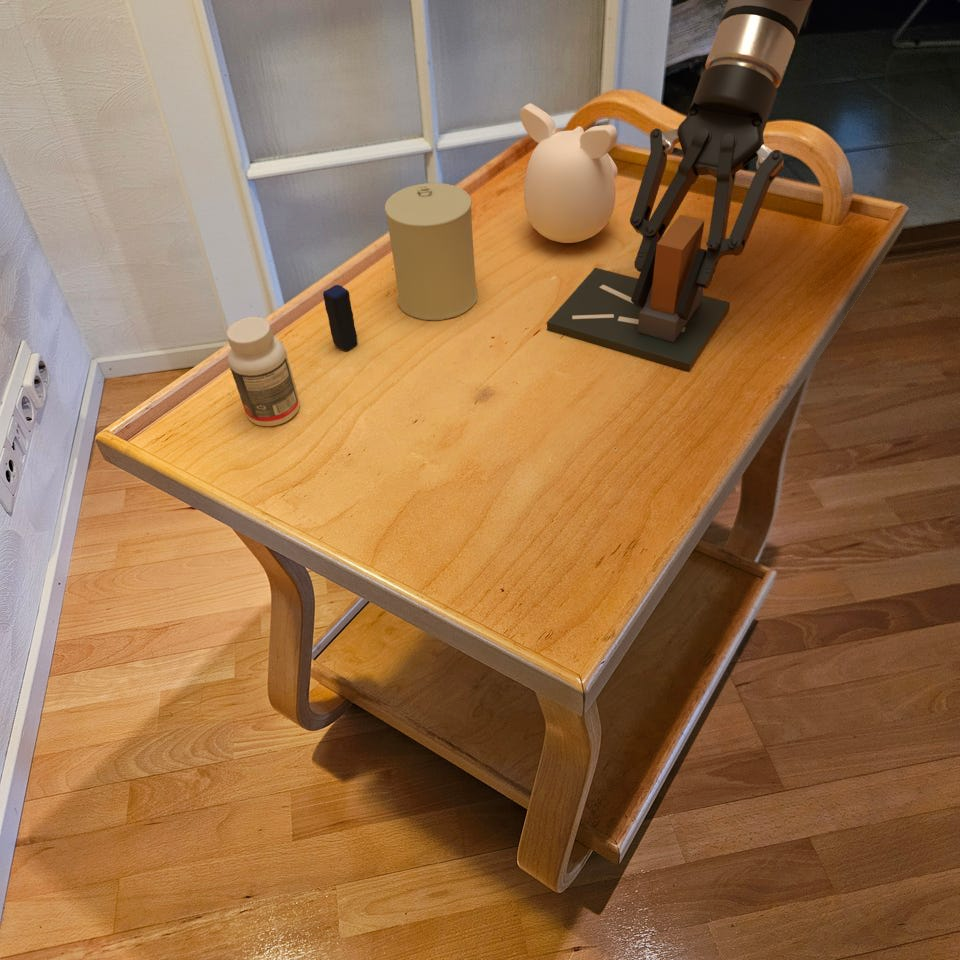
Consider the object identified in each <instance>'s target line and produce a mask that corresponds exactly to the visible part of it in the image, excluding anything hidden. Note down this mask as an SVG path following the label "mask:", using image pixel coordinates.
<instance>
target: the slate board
mask: <svg viewBox="0 0 960 960" xmlns="http://www.w3.org/2000/svg"><path fill="white" fill-rule="evenodd" d="M638 278H639V277H633V276H630V275H625V274H622V273H618V272H614V271H610V270H606V269H602V268H598V267H594V268H593V269H592V271H591V272H590V273H589V274H588V275H587V276H586V277H585V279H583V281H582V282H581V283H580V284H579V285H578V287H577V288H576V289H574V291H573V292H572V293H571V294H570V296H569V297H567V298H566V300H565V301H564V302H563V303H562V304H561V306H560V307H558V309H557V310H556V311H555V313H554V314H553V315H551V316H550V318H549V319H548V321H547V322H546V331H551V332H554V333H557V334H560V335H564V336H567V337H571V338H575V339H578V340H581V341H584V342H588V343H591V344H595V345H598V346H601V347H605V348H608V349H611V350H615V351H618V352H621V353H625V354H628V355H632V356H635V357H638V358H641V359H645V360H649V361H650V362H651V361H652V362H654V363H659V364H662V365H665V366H668V367H672V368H675V369H679V370H682V371H686V372H690V371H691V369H692V367H693V366H694V364H695V363H696V362H697V360H698V359H699V356H700V355H701V354H702V352H703V350H704V349H705V347H707V344H709V341H710V340H711V338H712V336H713V335H714V334H715V332H716V331H717V329H718V327H719V326H720V325H721V323H722V321H723V320H724V318H725V317H726V316H727V313H728V312H729V310H730V306H731V302H730V301H727V300H723V299H719V298H715V297H711V296H708V295H704V294H703V296H702V302H701V303H700V305H699V306H698V308H697V309H696V310H695V312H694V313H693V315H692V316H691V318H690V319H689V321H688V322H687V324H686V325H685V327H684V328H683V330H682V331H681V333H680V334H679V335H678V337H677V338H676V340H675V341H674V342H670V341H667V340H664V339H660V338H657V337H653V336H650V335H646V334H643V333H639V332H638V323H639V312H640V311H641V310H642V308H640V307H637V306H636V305H635V304H634V303H633V302H632V301H631V298H632V295H633V292H634V290H635V287H636V284H637V281H638ZM652 284H653V283H652ZM651 293H652V286H651V289H650V292H649V294H648V297H647V300H646V303H647V302H648V300H649V299H650V298H651ZM646 303H645V304H646Z"/></svg>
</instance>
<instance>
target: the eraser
mask: <svg viewBox="0 0 960 960" xmlns="http://www.w3.org/2000/svg"><path fill="white" fill-rule="evenodd" d="M322 295H323V301H324V307H325V311H326V314H327V318H328V324H329V329H330V334H331V338H332V341H333V344H334V346H335V347H336V348H337V349H339V350H341V351H343V352H349V351H351V350H352V349H353V348H355V347H357V346H358V334H357V330H356V327H355V319H354V313H353V310H352V302H351V295H350V291H349V290H348V289H347V288H345V287H343V285H340V284H335V285H332V286H331V287H330V288H327V289H326V290H324V291H323V292H322Z"/></svg>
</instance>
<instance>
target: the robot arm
mask: <svg viewBox="0 0 960 960" xmlns="http://www.w3.org/2000/svg"><path fill="white" fill-rule="evenodd" d="M812 2H813V0H727V2H726V5H725V7H724V11H723V14H722V17H721V20H720V23H719V24H718V28H717V30H716V34H715V36H714V38H713V42H712V45H711V48H710V50H709V53H708V55H707V59H706V61H705V64H704V65H705V66H704V67H705V70H704V71H703V72H702V74H701V76H700V78H699V81H698V85H697V86H696V87H697V88H696V90H695V93H694V95H693V99H692V101H691V105H690V108H689V110H688V114H687V116H686V117H685V118H684V119H683V121H681V122H680V124H678V125H679V126H678V127H677V128H674V129H671V130H666V131H662V130H661V129H660V128H654V129H652V130H651V131H650V134H649V143H650V144H649V145H650V153H649V156H648V159H647V163H646V166H645V168H644V171H643V176H642V178H641V182H640V185H639V187H638V188H639V189H638V192H637V195H636V198H635V201H634V205H633V208H632V211H631V215H630V217H629V224H630V225H631V226H632V228H633V230H634V231H635V232H636V233H637V234H640V235H641V236H642V238H641V242H640V245H639V248H638V251H637V254H636V257H635V260H634V263H633V264H634V269H635V270H636V271H637V272H639V276H638V277H637V278H638V281H637V284H636V287H635V290H634V292H633V295H632V298H631V301H632V302H633V303H634V304H635V305H636V306H637V307H640V308H643V307H644V306H645V303H646V300H647V297H648V294H649V292H650V289H651V286H652V283H653V274H654V265H655V256H656V247H657V243H658V242H659V240H660V239H661V238H662V237H663V235H664V234H665V233H666V232H667V230H668V228H669V227H670V224H671V222H672V220H673V219H674V217H675V216H676V213H677V211H678V210H679V208H680V206H681V205H682V203H683V201H684V200H685V198H686V196H687V195H688V192H689V191H690V189H691V188H692V186H693V185H695V183H696V182H697V180H698V178H699V177H700V176H711V177H713V178H716V185H715V191H714V198H713V203H712V210H711V218H710V224H709V231H708V238H707V241H706V242H705V243H706V249H705V248H704V249H703V248H698V250H697V252H696V255H695V258H694V261H693V264H692V266H691V269H690V272H689V275H688V278H687V281H686V283H685V286H684V289H683V292H682V295H681V297H680V300H679V303H678V306H677V309H676V311H675V313H676V314H677V315H678V316H679V318H681V319H684V320H687V319H688V316H689V314H690V311H691V308H692V305H693V303H694V300H695V297H696V294H697V291H698V289H699V287H703V288H704V289H708V288H709V287H710V286H711V285H712V282H713V279H714V276H715V275H716V274H715V273H716V271H717V268H718V265H719V263H720V260H721V259H722V258H723V257H725V256H736V257H738V256H740V255H742V254H743V252H744V250H745V247H746V245H747V242H748V240H749V237H750V235H751V233H752V230H753V227H754V225H755V223H756V220H757V218H758V215H759V213H760V210H761V208H762V206H763V203H764V201H765V198H766V195H767V193H768V190H769V188H770V187H771V184H772V182H774V180H775V179H776V178H777V177H778V176H779V175H780V173H781V172H782V171H783V170H784V168H785V161H784V156H783V152H782V151H781V150H779V149H774V150H772V148H770V147H769V146H767V145H766V144H765V140H764V132H765V129H766V126H767V124H768V120H769V118H770V116H771V112H772V110H773V107H774V105H775V101H776V99H777V95H778V90H777V89H778V88H779V87H780V85H782V84H781V83H782V81H783V79H784V76H785V73H786V71H787V67H788V64H789V61H790V59H791V56H792V54H793V51H794V48H795V44H796V42H797V40H798V36H799V34H800V31H801V28H802V26H803V23H804V20H805V17H806V15H807V12H808V10H809V7H810V5H811V4H812ZM678 143H679V145H680V147H681V151H682V155H683V157H682V159H681V160H680V163H679V164H678V166H677V171H676V173H675V175H674V176H673V178H672V180H671V181H670V183H669V186H668V187H667V189H666V190H665V192H664V194H663V195H662V197H661V199H660V200H659V202H658V204H657V206H656V208H655V209H654V206H655V202H656V199H657V196H658V193H659V189H660V186H661V184H662V183H661V182H662V180H663V177H664V173H665V170H666V166H667V163H668V162H667V161H668V156H670V155H672V153H673V152H674V149H675V146H676V145H677V144H678ZM756 158H757V159H756ZM754 159H756V162H755V167H756V172H755V173H754V175H753V177H752V181H751V183H750V185H749V187H748V191H747V193H746V195H745V198H744V200H743V202H742V206H741V208H740V211H739V213H738V215H737V218H736V220H735V223H734V225H733V227H732V230H731V233H730V235H729V238H727V237H726V236H727V230H728V223H729V216H730V209H731V203H732V197H733V196H732V195H733V191H734V188H735V181H736V174H737V173H738V172H739V171H740V170H742V169H743V168H744V167H745V166H747V165H748V164H749V163H750V162H751V161H753V160H754ZM653 209H654V211H653ZM652 212H653V213H652Z"/></svg>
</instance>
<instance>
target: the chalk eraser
mask: <svg viewBox="0 0 960 960" xmlns="http://www.w3.org/2000/svg"><path fill="white" fill-rule="evenodd" d="M704 228H705V219H701V218H698V217H693V216H688V215H684V214H679V215H678V217H677V218H676V219H675V220H674V222H673V223H672V224H671V225H670V226H669V227H668V228H667V229H666V231H665V233H664V234H663V236H662V238H661V239H660V240H659V242H658V243H657V247H656V256H655V265H654V274H653V284H652V293H651V298H650V299H649V300H648V302H647V303H646V304H645V306H644V307H643V308H642V310H641V311H640V312H639V323H638V332H639V333H643V334H646V335H650V336H653V337H657V338H660V339H664V340H667V341H670V342H674V341H675V340H676V338H677V337H678V335H679V334H680V333H681V331H682V330H683V328H684V327H685V325H686V324H687V322H688V321H689V319H690V318H691V316H692V315H693V313H694V312H695V310H696V309H697V308H698V306H699V305H700V303H701V302H702V296H703V295H704V289H705V288H703V287H699V289H698V291H697V294H696V297H695V300H694V303H693V305H692V308H691V311H690V314H689V316H688V319H687V320H684V319H681V318H679V316H678V315H677V314H676V313H675V311H676V309H677V306H678V303H679V300H680V297H681V295H682V292H683V289H684V286H685V283H686V281H687V278H688V275H689V272H690V269H691V266H692V264H693V261H694V258H695V255H696V252H697V250H698V248H700V249H702V248H701V247H702V241H703V233H704Z"/></svg>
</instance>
